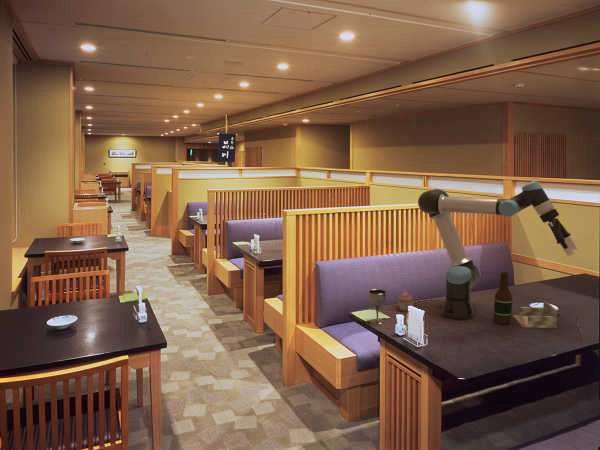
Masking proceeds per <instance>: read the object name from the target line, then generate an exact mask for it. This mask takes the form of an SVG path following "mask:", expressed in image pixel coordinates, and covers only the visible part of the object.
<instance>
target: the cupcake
mask: <svg viewBox="0 0 600 450" xmlns="http://www.w3.org/2000/svg"><path fill="white" fill-rule="evenodd" d="M396 303H397V304H398V310H399V311H401V312H404V313H405V312H409V311H408V310H407V309H408V306H409V305H413V306H414V305H415V303H416V302H415V300H414V299H413V295H412V294H410V293H409V292H408V291H406V290H404V292H402V293H401V294H400V295H399V296H398V299H396Z"/></svg>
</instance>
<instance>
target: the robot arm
mask: <svg viewBox="0 0 600 450" xmlns="http://www.w3.org/2000/svg"><path fill="white" fill-rule="evenodd" d="M521 190H522V191H521V192H520V193H518V194H516V195H514V196H512V197H510V198H487V197H486V198H485V197H467V196H466V197H465V196H464V197H463V196H450V195H449V194H448V192H446V191H445V190H443V189H440V188H439V189H438V188H434V189H431V190H426V191H424V192H422V193H421V194H420V195H419V196H418V199H417V205H418V207H419V209H420V211H421V212H423V213H424V214H425V213H426V214H428V216H429V218H430V219H431V220H434V222H435V225H436V227H437V231H438V232H439V235H440V237H441V241H442V242H443V245H444V248H445V249H446V253H447V255H448V257H449V260H450V262H451V263H450V265H449V268H448V269H447V270H446V273H445V299H444V303H443V305H442V308H441V315H442V316H444V317H446V318H449V319H453V320H469V319H470V320H471V319H473V317H474V307H473V305H472V302H471V301H472V300H471V289H472V288H473V287H475V286H476V285H477V284H478V283H479V281H480V279H481V270H480V268H479V267H478V266H477V265H476V264H475V263H474V261H473V259H472V258H471V257H469V256H468V254H467V252H466V249H465V246H464V245H463V242H462V239H461V237H460V235H459V232H458V229H457V227H456V226H455V225H456V224H455V223H454V219H453V216H452V215H451V213H458V214H459V213H461V214H462V213H463V214H478V215H479V214H480V215H496V216H503V217H507V218H508V217H513V216H515V215H516V214H518V213H520V212H521V211H523V210H525V209H527V208H529V207H531V206H532V207H533V209H534V210H535V212H536V214H537V215H538V216H539V218H540V220H541V221H542V223H544V224H545V223H547V222H548V223H547V225H548V227H549V228H550V230H551V232H552V234H553V235H554V238H555V240H556V244H558V245H560V246H561V248H562V250H563V251H564V253H565V254H566V256H567V257H570V256H572V255H574V253H575V252H574V251H575V250H578V247H577V246H576V244H575V243H574V240H573V239H572V238H571V236H572V234H571V233H570V232H569V231H568V230H567V229H566V227H564V225H563V224H562V223H561V221H560V220H559V218H558V216H559V215H560V213H559V212H558V210H557V209H556V208H554V207H555V205H554V204H553V203H554V202H553V201H552V200H550V197H548V195H547V193H546V191H545V190H544V189H543V187H542V186H541V185H540V183H539V181H537V180H533V181H530V182H529V183H527V184H525V185H523V186H522V187H521Z"/></svg>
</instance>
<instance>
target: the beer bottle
mask: <svg viewBox="0 0 600 450" xmlns="http://www.w3.org/2000/svg"><path fill="white" fill-rule="evenodd" d="M499 275H500V280H499V287H498V288H499V289H498V290H497V291H496V293H495V295H494V305H493V307H494V308H493V309H494V310H493V312H494V313H493V322H495V323H497V324H498V325H499V324H500V325H510V324H511V322H512V317H513V314H512V312H513V294H512V293H511V291H510V289H509V272H506V271H505V272H504V271H503V272H500V274H499Z"/></svg>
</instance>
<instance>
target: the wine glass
mask: <svg viewBox="0 0 600 450" xmlns="http://www.w3.org/2000/svg"><path fill="white" fill-rule="evenodd" d="M386 294H387V292H386V290H384V289H379V288H377V289H376V288H374V289H370V290H368V297H369V302H370V304H371V305H372V306H373V307H374V309H375V313H376V318H372V319H370V320H369V322H370V323H371V324H374V325H382V324H384V323H385V322H386V321H385V320H384V319H382V318H379V311H380V309H381V308H382V306H383V305H385V302H386V299H387V298H386V297H387V295H386Z"/></svg>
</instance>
